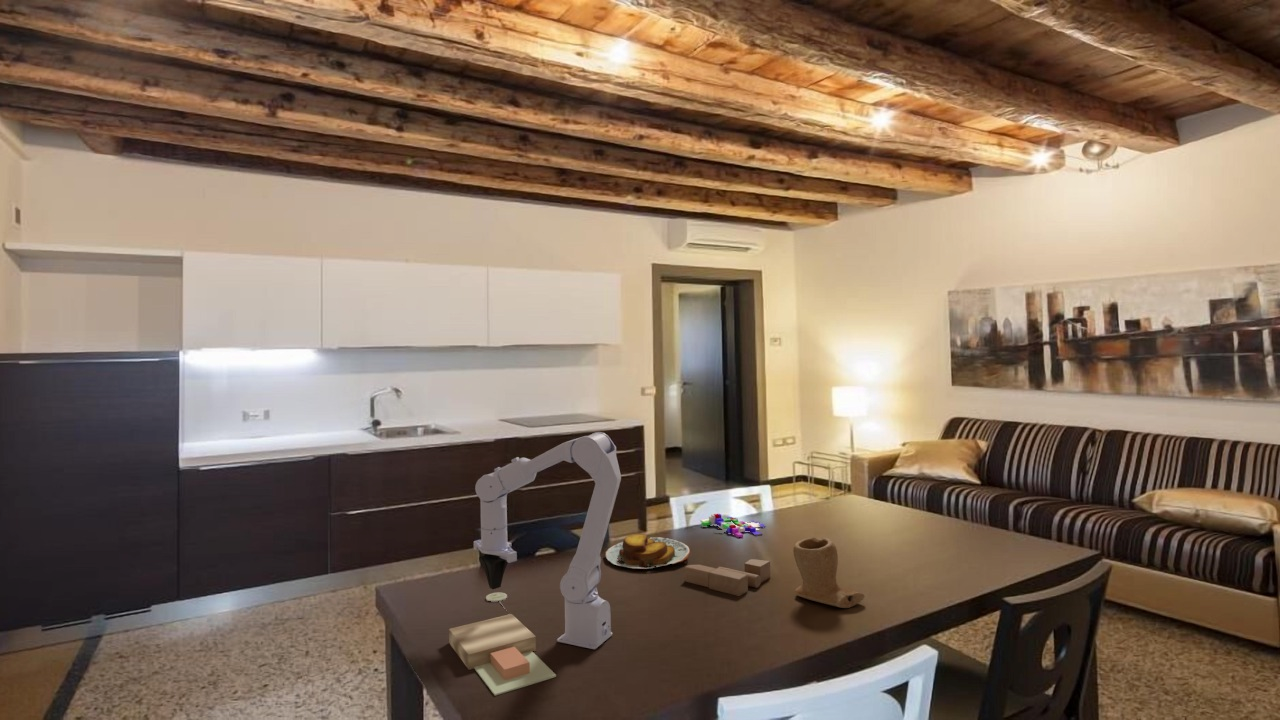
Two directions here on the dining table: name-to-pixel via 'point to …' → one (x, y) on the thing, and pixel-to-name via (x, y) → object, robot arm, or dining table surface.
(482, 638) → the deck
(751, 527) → the building block set
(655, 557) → the food on plate
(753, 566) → the wooden block set
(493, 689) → the mat
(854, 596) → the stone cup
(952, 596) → the dining table surface
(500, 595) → the sign
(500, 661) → the tile
